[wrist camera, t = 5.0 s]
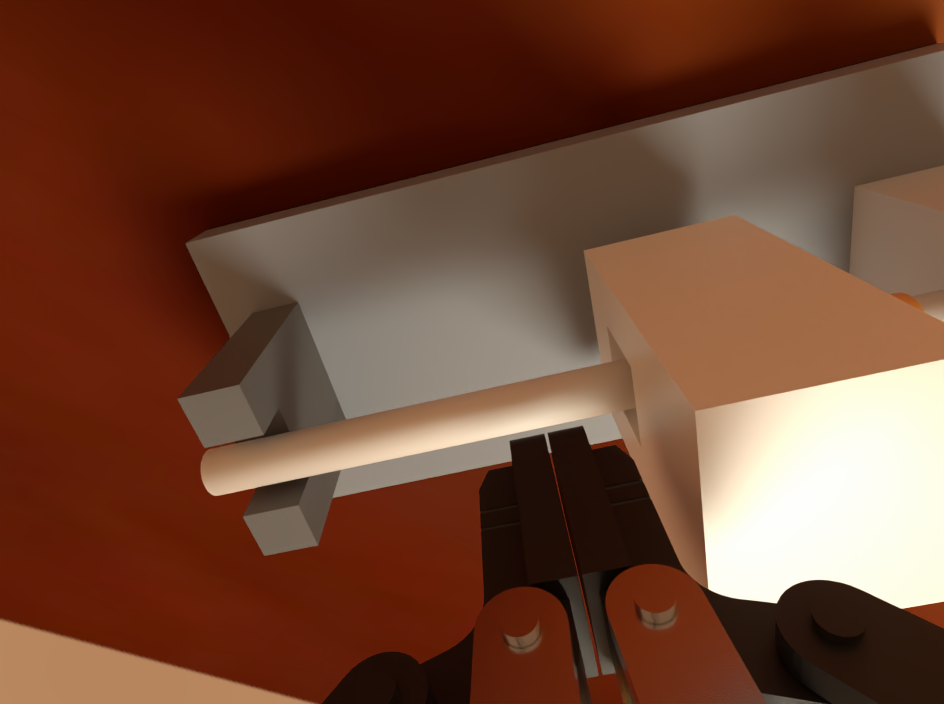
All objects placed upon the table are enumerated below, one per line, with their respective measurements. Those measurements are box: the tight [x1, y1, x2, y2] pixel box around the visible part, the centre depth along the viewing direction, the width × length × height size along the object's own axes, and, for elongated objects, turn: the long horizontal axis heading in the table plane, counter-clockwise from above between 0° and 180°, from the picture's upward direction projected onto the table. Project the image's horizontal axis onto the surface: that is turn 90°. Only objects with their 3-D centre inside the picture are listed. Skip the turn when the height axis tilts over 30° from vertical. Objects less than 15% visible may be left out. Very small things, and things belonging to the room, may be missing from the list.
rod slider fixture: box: [177, 43, 944, 556], centre depth 15 cm, size 10×22×10 cm, turn 104°
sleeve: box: [584, 215, 944, 609], centre depth 12 cm, size 5×4×8 cm
